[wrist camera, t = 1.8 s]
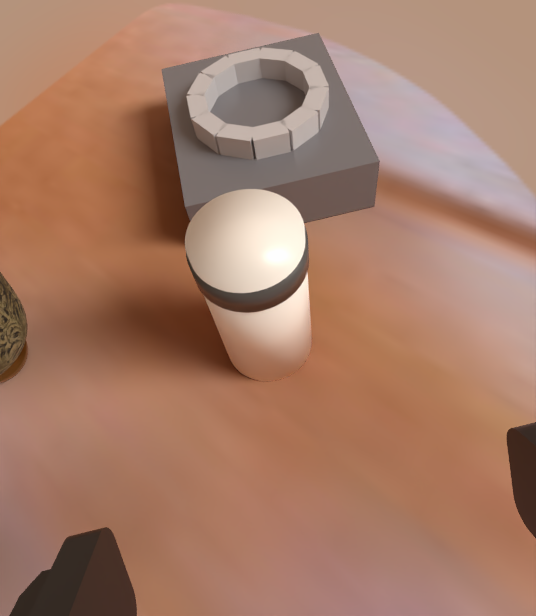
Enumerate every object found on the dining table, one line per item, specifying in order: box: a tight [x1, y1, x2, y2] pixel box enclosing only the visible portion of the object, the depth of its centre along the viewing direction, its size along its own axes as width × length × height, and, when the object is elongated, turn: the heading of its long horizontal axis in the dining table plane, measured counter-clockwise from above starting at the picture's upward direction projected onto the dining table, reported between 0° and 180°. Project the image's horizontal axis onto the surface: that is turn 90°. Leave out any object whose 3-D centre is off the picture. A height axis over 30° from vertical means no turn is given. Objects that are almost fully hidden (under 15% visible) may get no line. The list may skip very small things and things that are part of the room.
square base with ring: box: [162, 33, 380, 223], centre depth 35 cm, size 12×14×6 cm
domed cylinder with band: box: [185, 189, 312, 381], centre depth 25 cm, size 5×5×10 cm
